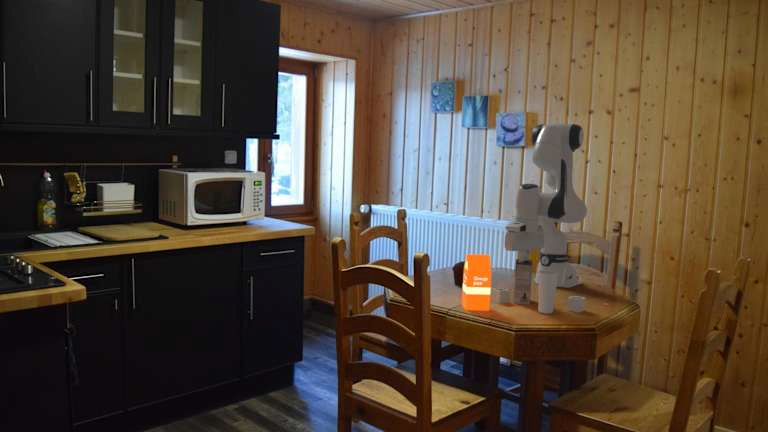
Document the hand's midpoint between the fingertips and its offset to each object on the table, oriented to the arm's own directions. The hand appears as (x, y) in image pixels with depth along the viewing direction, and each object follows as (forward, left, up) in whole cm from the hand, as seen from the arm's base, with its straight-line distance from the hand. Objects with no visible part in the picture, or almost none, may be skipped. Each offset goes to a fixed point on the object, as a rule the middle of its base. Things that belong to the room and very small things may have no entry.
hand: (524, 261), depth 253 cm
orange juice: (+24, -2, -16) cm, 29 cm away
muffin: (-3, -34, -16) cm, 38 cm away
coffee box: (0, 0, -16) cm, 16 cm away
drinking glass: (+6, +16, -16) cm, 24 cm away
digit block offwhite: (-7, +20, -16) cm, 27 cm away
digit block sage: (+8, -4, -16) cm, 18 cm away
